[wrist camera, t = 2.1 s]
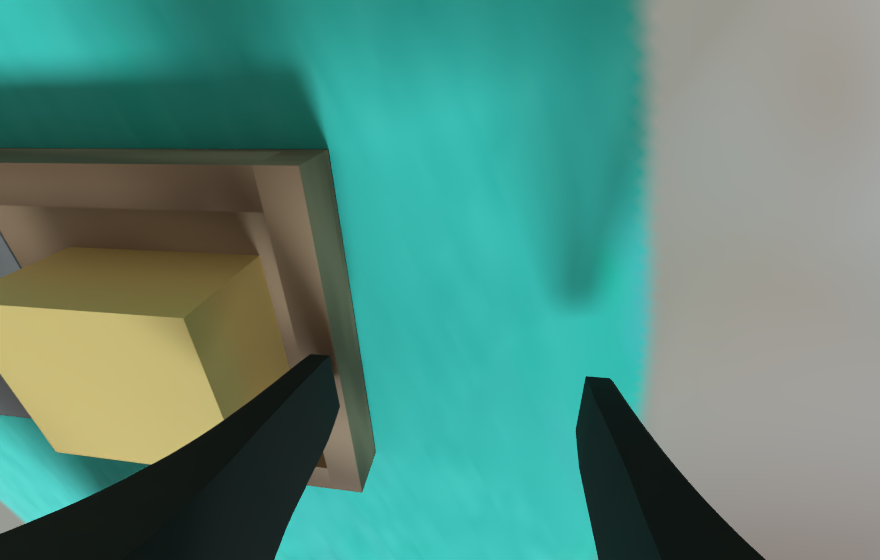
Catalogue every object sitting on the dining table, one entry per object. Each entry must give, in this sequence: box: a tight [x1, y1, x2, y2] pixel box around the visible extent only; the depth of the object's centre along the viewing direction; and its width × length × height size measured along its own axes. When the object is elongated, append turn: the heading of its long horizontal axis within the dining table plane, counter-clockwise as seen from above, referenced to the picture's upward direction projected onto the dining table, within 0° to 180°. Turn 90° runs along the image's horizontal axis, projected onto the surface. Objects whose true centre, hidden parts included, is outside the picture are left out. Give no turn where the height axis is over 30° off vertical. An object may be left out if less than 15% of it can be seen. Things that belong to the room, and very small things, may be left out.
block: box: [0, 247, 290, 465], centre depth 14 cm, size 6×7×4 cm
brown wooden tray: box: [0, 148, 376, 492], centre depth 15 cm, size 12×12×2 cm
